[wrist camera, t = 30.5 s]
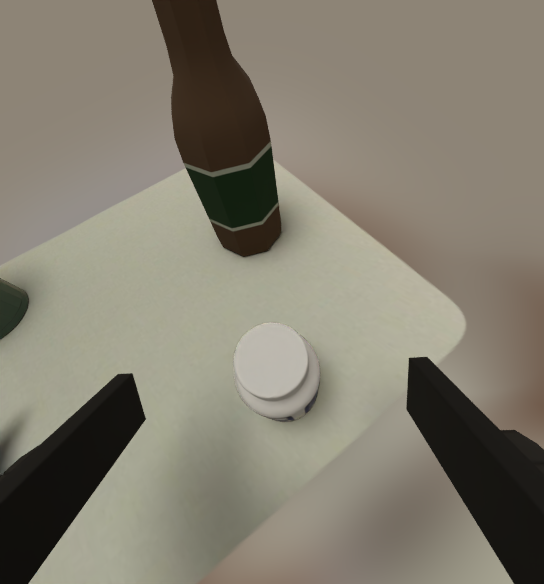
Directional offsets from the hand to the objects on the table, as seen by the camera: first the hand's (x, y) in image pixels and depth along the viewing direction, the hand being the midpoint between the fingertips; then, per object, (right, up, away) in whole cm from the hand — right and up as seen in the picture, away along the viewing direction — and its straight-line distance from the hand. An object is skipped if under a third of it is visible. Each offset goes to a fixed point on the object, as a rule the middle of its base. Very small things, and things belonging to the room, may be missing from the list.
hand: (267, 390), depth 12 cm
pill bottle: (+1, -4, +10) cm, 10 cm away
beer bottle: (-2, +12, +19) cm, 22 cm away
